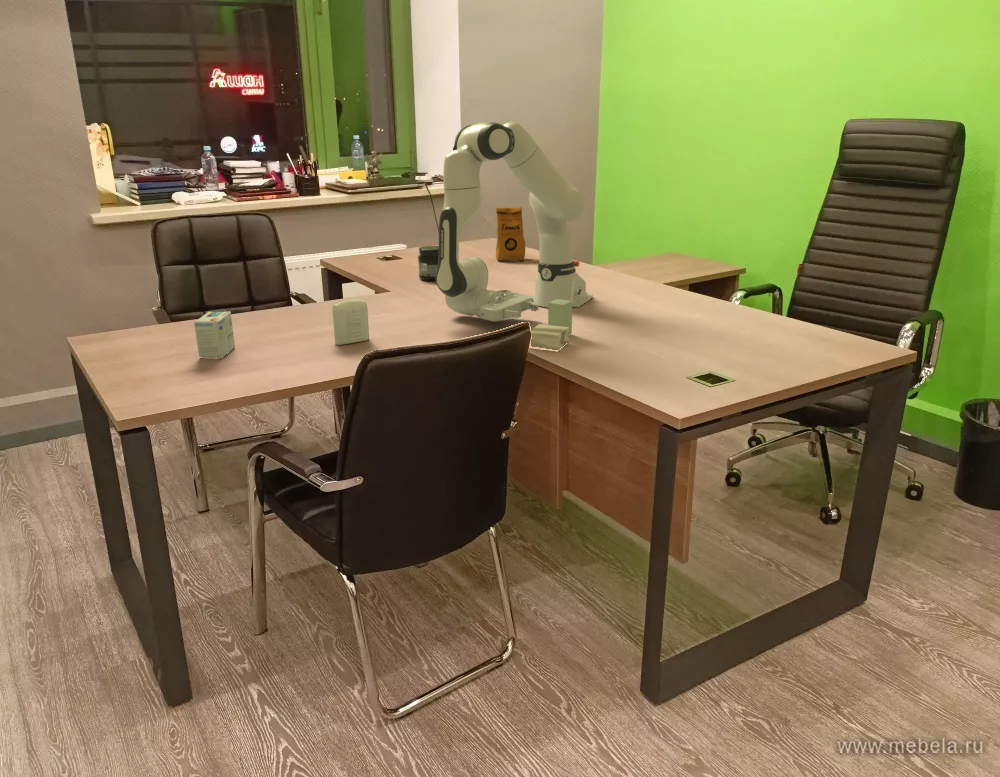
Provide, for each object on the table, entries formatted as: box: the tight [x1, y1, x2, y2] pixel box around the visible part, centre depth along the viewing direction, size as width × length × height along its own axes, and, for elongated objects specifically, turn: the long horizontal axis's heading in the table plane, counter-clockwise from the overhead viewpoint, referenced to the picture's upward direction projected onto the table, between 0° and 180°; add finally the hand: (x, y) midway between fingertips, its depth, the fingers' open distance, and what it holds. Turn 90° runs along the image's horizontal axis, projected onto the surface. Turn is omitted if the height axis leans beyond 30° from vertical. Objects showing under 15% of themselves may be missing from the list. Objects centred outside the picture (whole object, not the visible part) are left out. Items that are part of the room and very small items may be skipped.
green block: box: [547, 299, 573, 334], centre depth 237 cm, size 5×5×10 cm
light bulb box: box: [193, 310, 236, 358], centre depth 224 cm, size 11×7×11 cm, turn 178°
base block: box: [530, 323, 570, 350], centre depth 228 cm, size 9×9×5 cm
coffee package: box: [495, 207, 526, 261], centre depth 340 cm, size 10×12×22 cm
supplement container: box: [417, 245, 439, 282], centre depth 309 cm, size 10×10×12 cm
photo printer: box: [332, 298, 370, 346], centre depth 233 cm, size 10×4×12 cm, turn 123°
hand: (528, 311), depth 243 cm, fingers open, 8 cm apart
